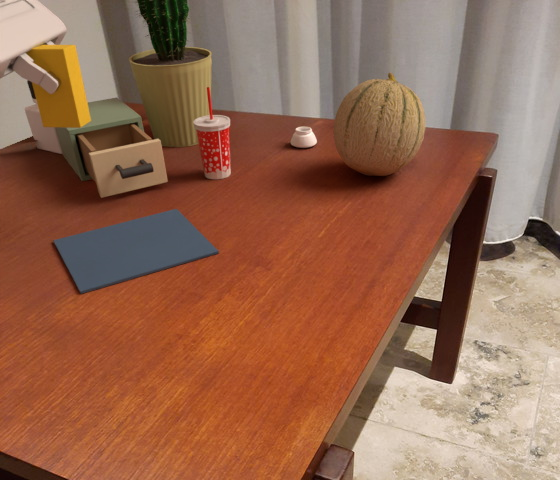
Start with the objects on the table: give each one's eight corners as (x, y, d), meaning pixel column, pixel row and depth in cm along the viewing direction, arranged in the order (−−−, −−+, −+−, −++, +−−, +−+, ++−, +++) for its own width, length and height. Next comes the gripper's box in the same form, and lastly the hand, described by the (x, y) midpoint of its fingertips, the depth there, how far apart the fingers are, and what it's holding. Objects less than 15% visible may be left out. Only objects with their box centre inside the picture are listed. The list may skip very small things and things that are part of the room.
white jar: (298, 139, 109) (285, 147, 106) (298, 123, 107) (285, 131, 104) (321, 142, 107) (308, 151, 104) (321, 126, 105) (308, 134, 102)
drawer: (176, 190, 90) (170, 148, 86) (108, 207, 86) (97, 163, 82) (142, 157, 102) (134, 119, 98) (81, 171, 98) (70, 131, 94)
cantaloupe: (324, 186, 91) (326, 88, 82) (340, 155, 102) (344, 64, 92) (415, 193, 88) (428, 91, 78) (422, 160, 99) (435, 66, 89)
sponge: (80, 128, 72) (63, 48, 67) (43, 127, 73) (22, 48, 67) (91, 121, 75) (75, 44, 70) (55, 120, 76) (36, 44, 70)
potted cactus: (201, 120, 120) (180, -53, 101) (233, 140, 110) (216, -49, 90) (133, 134, 115) (97, -46, 95) (160, 156, 105) (126, -41, 85)
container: (92, 142, 112) (74, 71, 104) (62, 155, 107) (40, 81, 99) (66, 137, 115) (46, 67, 107) (36, 148, 111) (13, 77, 102)
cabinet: (150, 166, 101) (141, 116, 96) (82, 181, 97) (68, 130, 91) (126, 143, 111) (117, 97, 105) (63, 156, 107) (49, 109, 101)
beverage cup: (227, 165, 100) (219, 80, 91) (240, 176, 96) (232, 88, 87) (195, 171, 98) (183, 85, 89) (207, 183, 94) (196, 94, 85)
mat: (80, 294, 69) (80, 291, 69) (53, 242, 80) (53, 240, 80) (219, 253, 76) (218, 250, 76) (177, 210, 86) (176, 208, 86)
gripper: (-5, 3, 75) (83, 81, 80) (-99, 32, 60) (18, 127, 65) (14, -39, 72) (105, 45, 77) (-80, -19, 56) (42, 85, 62)
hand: (65, 83), depth 71 cm, fingers closed on sponge, 3 cm apart
